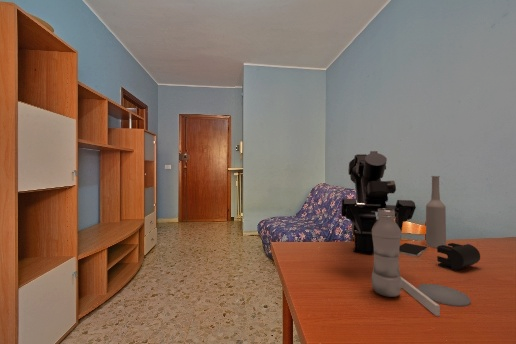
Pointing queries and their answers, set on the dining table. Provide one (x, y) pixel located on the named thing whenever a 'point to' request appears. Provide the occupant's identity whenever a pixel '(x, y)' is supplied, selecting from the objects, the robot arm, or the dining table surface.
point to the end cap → (457, 256)
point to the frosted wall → (421, 297)
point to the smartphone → (411, 249)
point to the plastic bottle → (386, 254)
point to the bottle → (435, 217)
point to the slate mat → (444, 295)
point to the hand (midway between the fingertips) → (380, 234)
